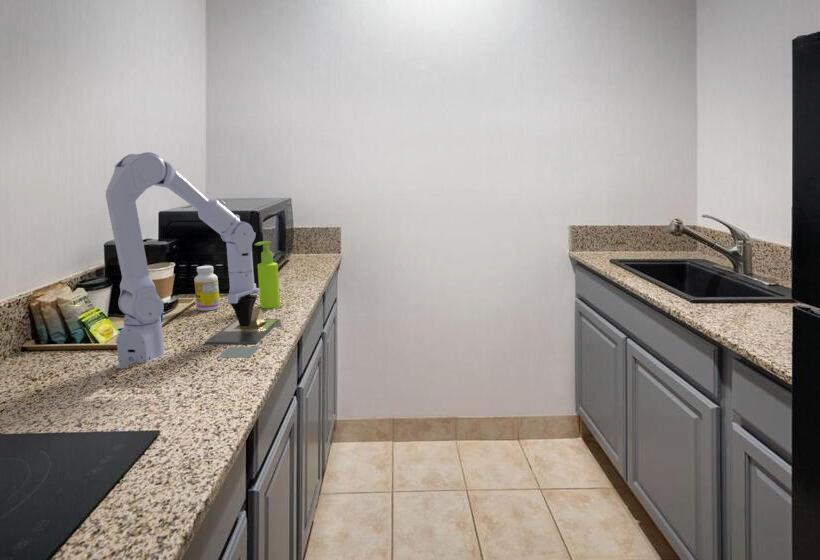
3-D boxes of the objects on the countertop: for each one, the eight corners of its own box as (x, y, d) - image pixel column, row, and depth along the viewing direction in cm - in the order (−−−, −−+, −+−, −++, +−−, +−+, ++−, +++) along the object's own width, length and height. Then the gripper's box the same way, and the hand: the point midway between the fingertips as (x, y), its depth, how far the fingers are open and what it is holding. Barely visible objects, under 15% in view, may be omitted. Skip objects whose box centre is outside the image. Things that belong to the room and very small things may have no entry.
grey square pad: (250, 364, 115) (249, 357, 115) (217, 364, 116) (216, 357, 115) (260, 353, 122) (260, 347, 122) (229, 353, 123) (229, 347, 122)
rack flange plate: (257, 350, 125) (256, 341, 124) (205, 350, 125) (204, 342, 125) (281, 326, 144) (280, 319, 144) (236, 326, 145) (235, 319, 145)
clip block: (256, 320, 135) (260, 308, 139) (238, 320, 136) (243, 308, 139) (260, 333, 138) (264, 321, 142) (242, 333, 139) (247, 321, 142)
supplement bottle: (196, 307, 168) (192, 266, 166) (218, 305, 171) (215, 264, 168) (197, 312, 162) (193, 269, 160) (221, 309, 165) (217, 267, 162)
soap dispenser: (253, 308, 166) (249, 242, 162) (269, 303, 172) (265, 239, 168) (268, 310, 163) (264, 243, 159) (284, 305, 169) (280, 240, 165)
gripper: (247, 276, 125) (251, 333, 127) (266, 266, 139) (270, 318, 141) (216, 276, 125) (221, 334, 127) (239, 266, 139) (243, 318, 142)
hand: (245, 325), depth 134 cm, fingers closed
